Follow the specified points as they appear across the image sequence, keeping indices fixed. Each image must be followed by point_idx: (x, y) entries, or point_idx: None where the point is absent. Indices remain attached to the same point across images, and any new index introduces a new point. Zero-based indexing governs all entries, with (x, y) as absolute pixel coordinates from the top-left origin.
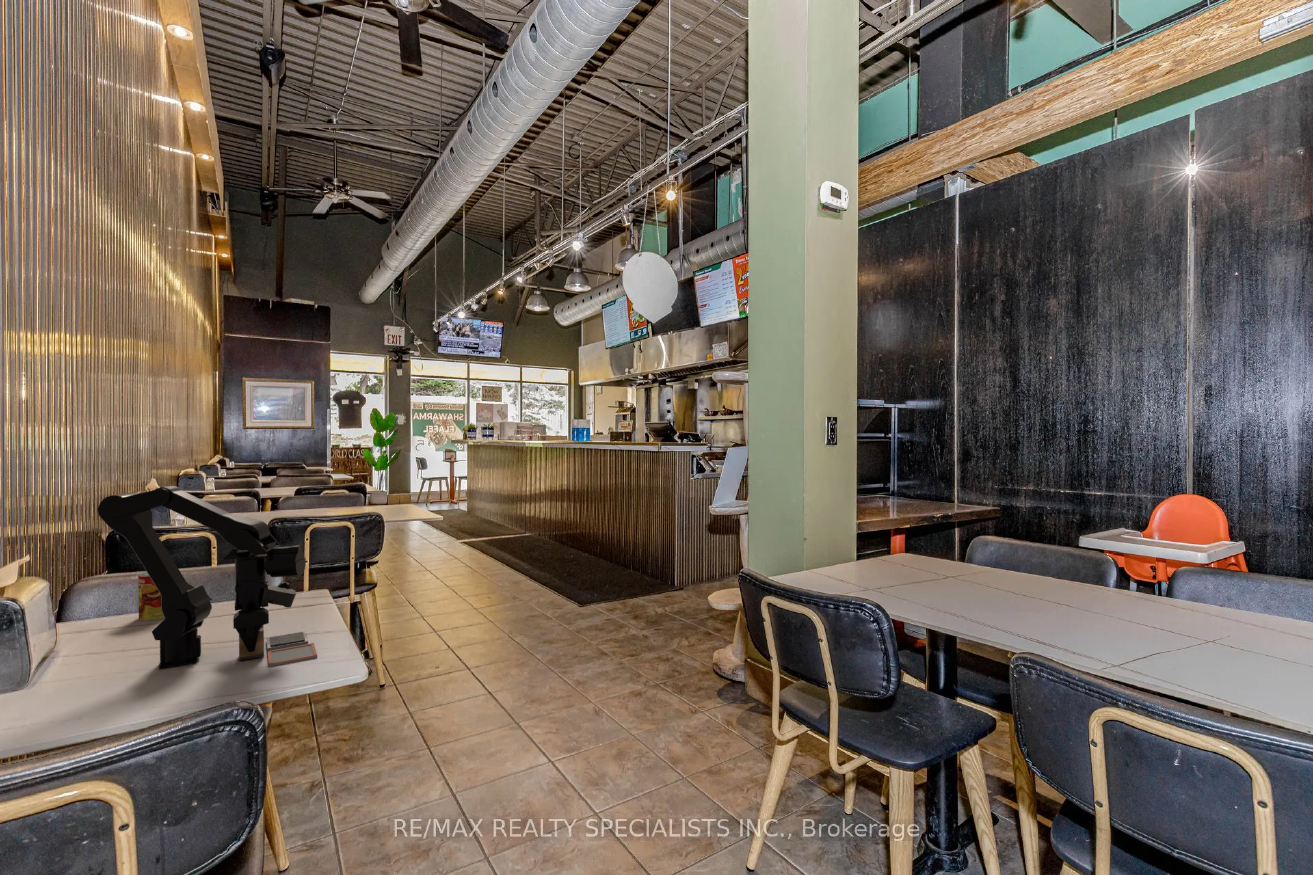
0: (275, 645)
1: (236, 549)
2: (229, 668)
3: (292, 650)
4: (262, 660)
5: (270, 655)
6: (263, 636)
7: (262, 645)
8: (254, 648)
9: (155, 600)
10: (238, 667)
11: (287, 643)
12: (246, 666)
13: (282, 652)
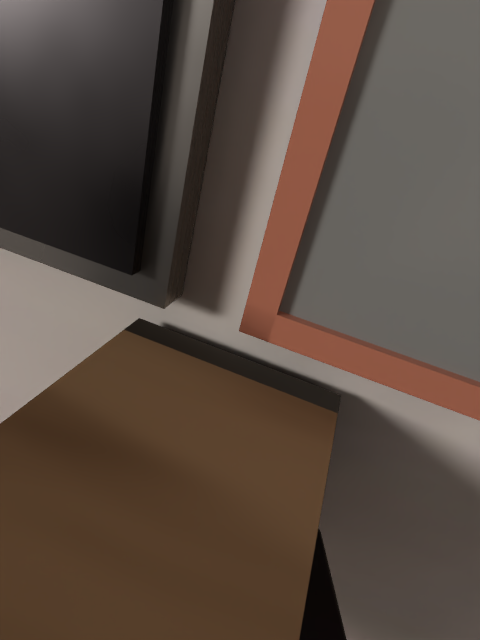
0: (140, 222)
1: None
2: (374, 611)
3: (469, 87)
4: (421, 429)
5: (432, 378)
6: (299, 626)
7: (319, 498)
8: (326, 560)
9: None
10: (417, 586)
11: (160, 72)
12: (457, 558)
13: (417, 228)
